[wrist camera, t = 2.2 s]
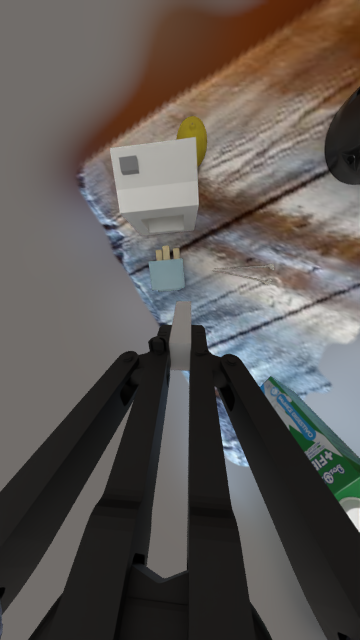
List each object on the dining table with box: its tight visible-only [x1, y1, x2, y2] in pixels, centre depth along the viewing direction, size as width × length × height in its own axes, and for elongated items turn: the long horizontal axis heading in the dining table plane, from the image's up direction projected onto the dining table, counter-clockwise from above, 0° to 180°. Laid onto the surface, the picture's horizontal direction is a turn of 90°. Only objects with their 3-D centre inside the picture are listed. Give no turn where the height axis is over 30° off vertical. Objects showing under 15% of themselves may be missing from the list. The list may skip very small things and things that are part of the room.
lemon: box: [176, 116, 207, 167], centre depth 27 cm, size 6×6×8 cm
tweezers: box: [214, 264, 275, 285], centre depth 36 cm, size 18×5×2 cm, turn 86°
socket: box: [110, 137, 199, 236], centre depth 27 cm, size 12×8×13 cm, turn 95°
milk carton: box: [260, 377, 360, 532], centre depth 32 cm, size 9×9×25 cm
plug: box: [149, 246, 185, 292], centre depth 32 cm, size 6×8×10 cm
